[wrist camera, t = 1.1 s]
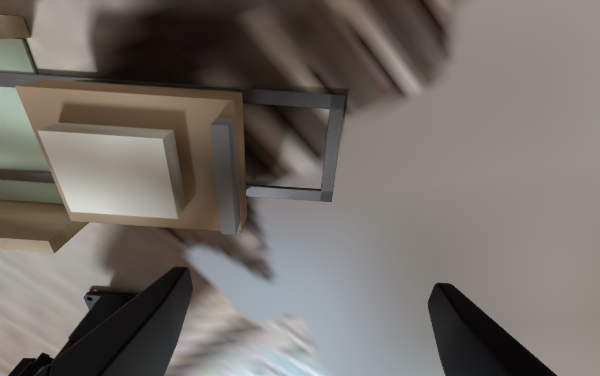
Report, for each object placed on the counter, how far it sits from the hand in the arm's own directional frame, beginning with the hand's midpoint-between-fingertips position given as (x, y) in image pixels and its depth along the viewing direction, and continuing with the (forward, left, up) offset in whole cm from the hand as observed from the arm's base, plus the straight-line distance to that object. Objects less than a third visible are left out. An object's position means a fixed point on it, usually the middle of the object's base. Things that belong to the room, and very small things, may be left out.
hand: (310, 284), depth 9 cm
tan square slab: (0, +9, -11) cm, 14 cm away
